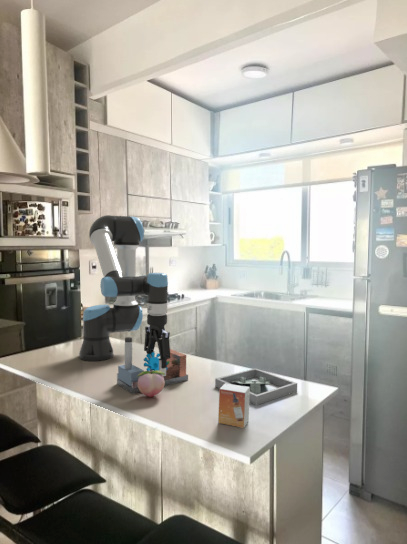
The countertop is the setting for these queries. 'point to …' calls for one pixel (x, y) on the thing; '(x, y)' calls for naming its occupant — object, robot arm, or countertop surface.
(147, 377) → the decorative fruit
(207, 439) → the countertop surface
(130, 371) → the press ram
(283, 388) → the parts tray
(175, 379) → the frame
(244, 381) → the metal bracket
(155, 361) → the gear
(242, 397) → the small box
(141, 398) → the countertop surface
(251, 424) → the countertop surface
